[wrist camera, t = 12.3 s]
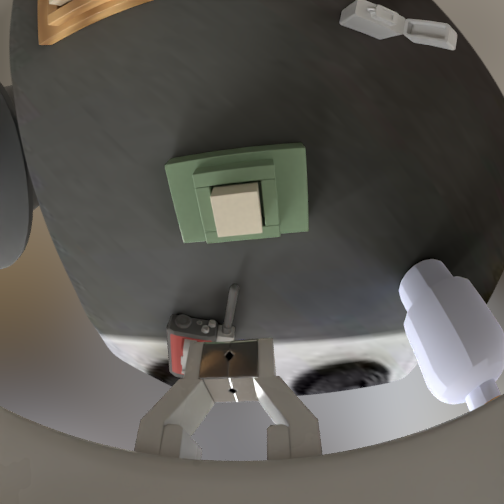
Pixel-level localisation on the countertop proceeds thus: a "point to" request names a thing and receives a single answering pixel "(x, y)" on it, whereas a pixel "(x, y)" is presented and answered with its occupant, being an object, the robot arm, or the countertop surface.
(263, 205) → the key block
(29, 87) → the countertop surface
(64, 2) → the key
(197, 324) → the walkie-talkie
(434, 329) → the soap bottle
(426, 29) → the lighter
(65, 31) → the key block
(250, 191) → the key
